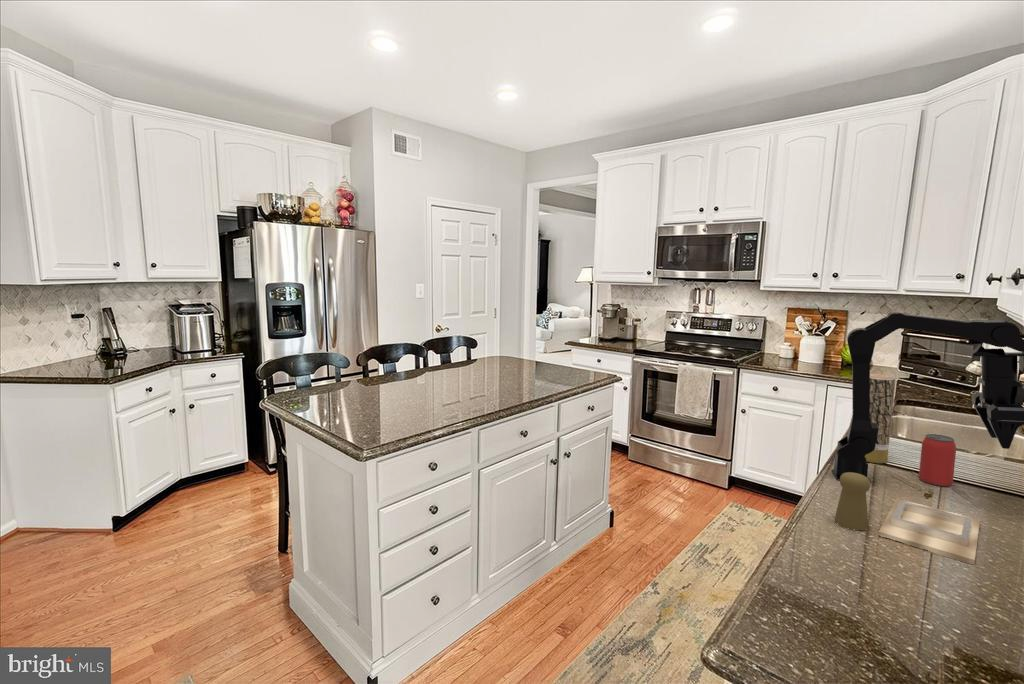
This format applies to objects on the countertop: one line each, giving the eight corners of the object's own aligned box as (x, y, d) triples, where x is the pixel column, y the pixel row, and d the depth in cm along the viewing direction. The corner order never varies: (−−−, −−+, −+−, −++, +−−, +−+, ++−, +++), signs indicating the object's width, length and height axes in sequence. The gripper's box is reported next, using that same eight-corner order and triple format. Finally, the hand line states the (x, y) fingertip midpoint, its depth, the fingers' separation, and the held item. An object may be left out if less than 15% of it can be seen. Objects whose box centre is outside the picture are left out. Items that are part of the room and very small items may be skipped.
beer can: (918, 475, 128) (922, 431, 126) (951, 481, 124) (956, 436, 122) (918, 482, 123) (923, 437, 121) (953, 489, 119) (958, 443, 117)
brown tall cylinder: (892, 465, 135) (900, 378, 132) (865, 463, 136) (872, 377, 133) (879, 456, 141) (886, 374, 139) (853, 455, 143) (860, 373, 140)
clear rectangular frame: (890, 524, 99) (891, 518, 99) (899, 507, 107) (900, 500, 107) (967, 546, 91) (968, 539, 90) (971, 525, 99) (971, 518, 98)
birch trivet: (878, 536, 96) (878, 531, 96) (896, 502, 111) (896, 498, 111) (974, 565, 86) (974, 559, 86) (979, 523, 101) (980, 519, 101)
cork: (857, 517, 104) (861, 469, 103) (875, 531, 98) (880, 480, 97) (828, 516, 105) (831, 468, 104) (844, 530, 99) (848, 479, 98)
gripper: (1068, 383, 96) (1068, 459, 97) (1036, 370, 111) (1036, 435, 112) (991, 382, 102) (991, 453, 103) (971, 369, 117) (971, 431, 118)
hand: (999, 442), depth 109 cm, fingers open, 9 cm apart
